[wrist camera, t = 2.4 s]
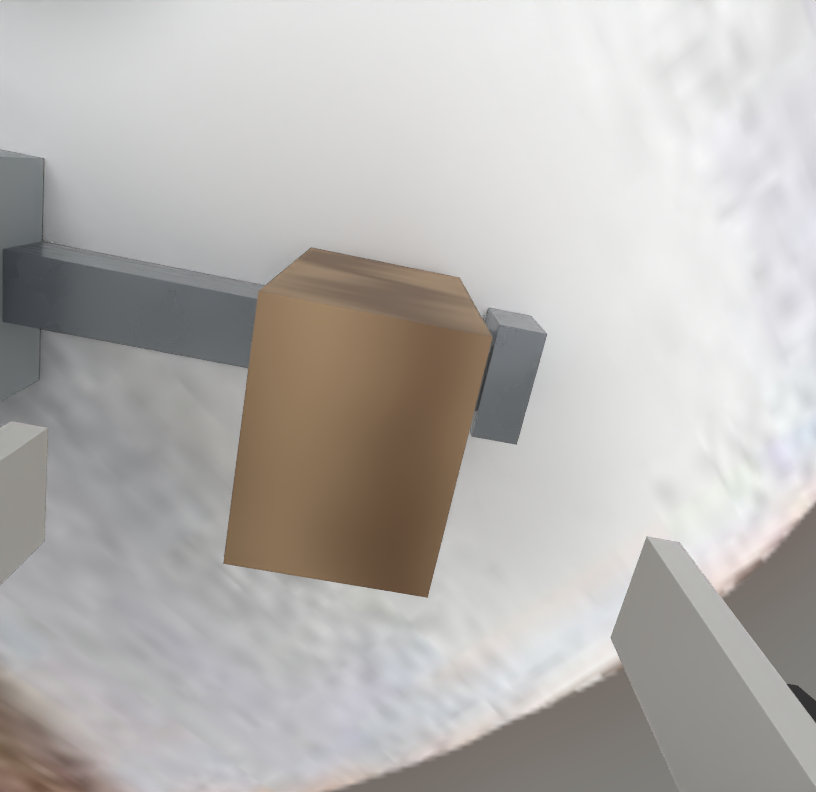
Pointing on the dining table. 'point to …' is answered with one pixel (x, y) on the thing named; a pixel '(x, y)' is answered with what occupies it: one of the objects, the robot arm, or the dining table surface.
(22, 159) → the grey block with hole
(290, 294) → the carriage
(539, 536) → the dining table surface
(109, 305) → the rail
